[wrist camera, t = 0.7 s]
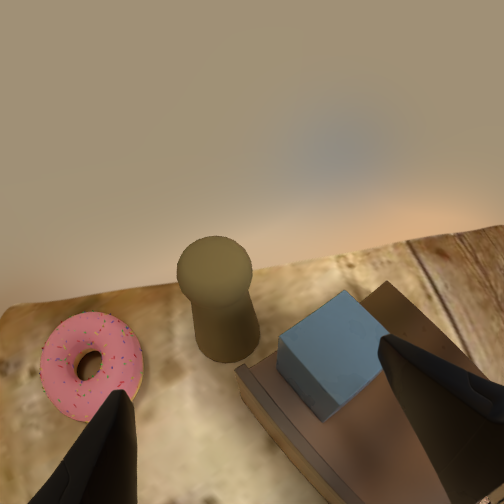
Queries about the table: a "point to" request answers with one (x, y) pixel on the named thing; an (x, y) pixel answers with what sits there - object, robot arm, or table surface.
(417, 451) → the step shelf
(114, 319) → the doughnut
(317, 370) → the block
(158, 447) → the table surface
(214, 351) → the olive peg doll
